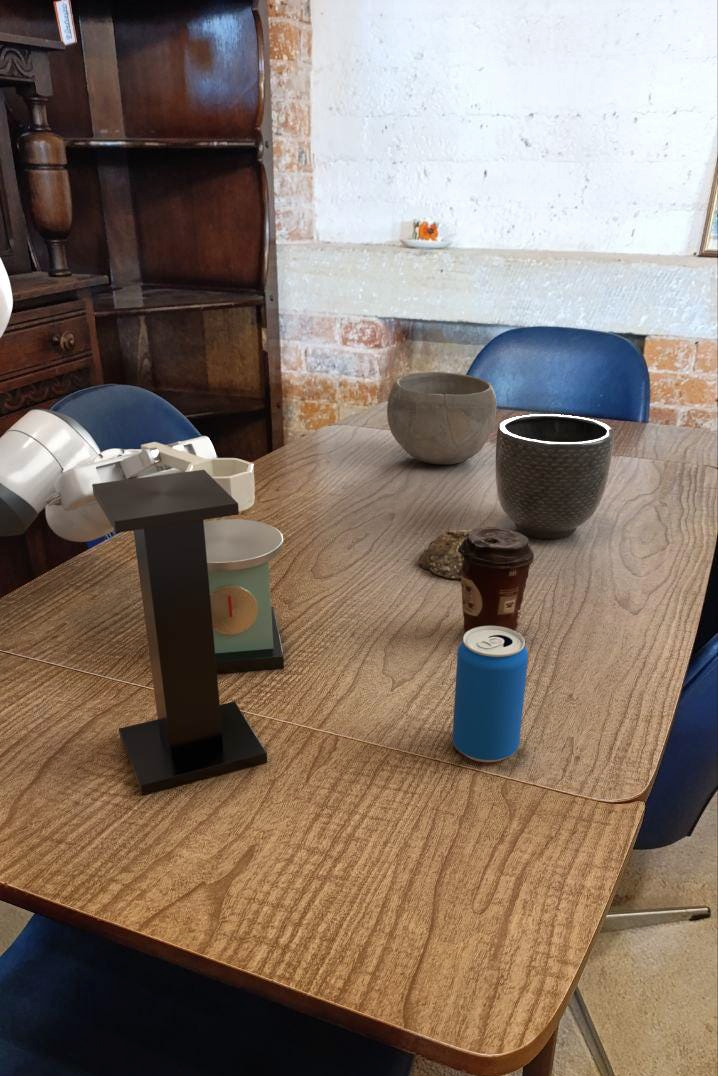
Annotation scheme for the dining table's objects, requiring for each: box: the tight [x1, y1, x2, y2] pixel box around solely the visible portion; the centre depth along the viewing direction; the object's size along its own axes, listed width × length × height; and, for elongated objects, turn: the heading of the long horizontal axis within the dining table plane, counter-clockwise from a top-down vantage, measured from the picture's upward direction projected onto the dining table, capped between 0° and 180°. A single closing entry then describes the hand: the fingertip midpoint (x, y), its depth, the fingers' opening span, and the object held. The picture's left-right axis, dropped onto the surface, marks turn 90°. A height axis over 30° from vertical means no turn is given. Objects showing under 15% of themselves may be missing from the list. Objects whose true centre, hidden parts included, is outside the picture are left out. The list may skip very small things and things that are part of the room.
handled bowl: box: [140, 441, 256, 513], centre depth 98 cm, size 17×7×4 cm, turn 46°
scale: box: [204, 518, 285, 675], centre depth 101 cm, size 13×13×14 cm
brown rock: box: [417, 529, 472, 581], centre depth 124 cm, size 13×12×5 cm
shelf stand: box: [92, 470, 268, 796], centre depth 79 cm, size 10×12×26 cm
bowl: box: [386, 371, 498, 465], centre depth 168 cm, size 21×21×15 cm
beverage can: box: [451, 626, 529, 763], centre depth 83 cm, size 6×6×12 cm
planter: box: [495, 414, 616, 540], centre depth 134 cm, size 17×17×16 cm
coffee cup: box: [458, 526, 535, 636], centre depth 103 cm, size 9×8×13 cm
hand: (167, 451), depth 100 cm, fingers closed on handled bowl, 2 cm apart
